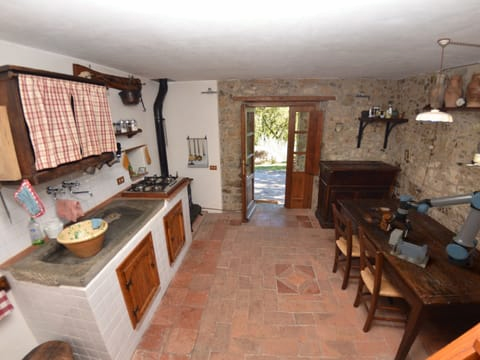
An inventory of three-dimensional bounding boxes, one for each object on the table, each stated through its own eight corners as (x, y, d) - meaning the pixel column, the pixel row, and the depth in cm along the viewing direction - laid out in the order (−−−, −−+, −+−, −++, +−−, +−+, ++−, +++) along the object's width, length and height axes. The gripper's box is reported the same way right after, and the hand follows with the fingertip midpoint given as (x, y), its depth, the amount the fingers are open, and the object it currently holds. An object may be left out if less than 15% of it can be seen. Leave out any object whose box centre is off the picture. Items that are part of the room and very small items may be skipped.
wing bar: (400, 240, 201) (403, 230, 198) (396, 246, 192) (399, 236, 189) (393, 237, 205) (395, 228, 202) (388, 243, 196) (391, 233, 193)
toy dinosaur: (385, 232, 212) (389, 216, 207) (376, 227, 222) (379, 211, 217) (394, 231, 215) (398, 215, 210) (384, 226, 225) (388, 210, 220)
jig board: (428, 259, 175) (430, 252, 173) (424, 268, 165) (426, 261, 163) (395, 246, 191) (397, 240, 190) (389, 253, 181) (391, 247, 180)
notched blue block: (423, 257, 175) (427, 243, 171) (423, 262, 170) (427, 247, 166) (396, 248, 186) (400, 235, 182) (395, 252, 181) (399, 239, 177)
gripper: (421, 216, 183) (414, 237, 189) (387, 206, 200) (382, 226, 207) (419, 219, 178) (412, 241, 185) (384, 208, 196) (379, 229, 202)
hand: (396, 233), depth 196 cm, fingers open, 13 cm apart
